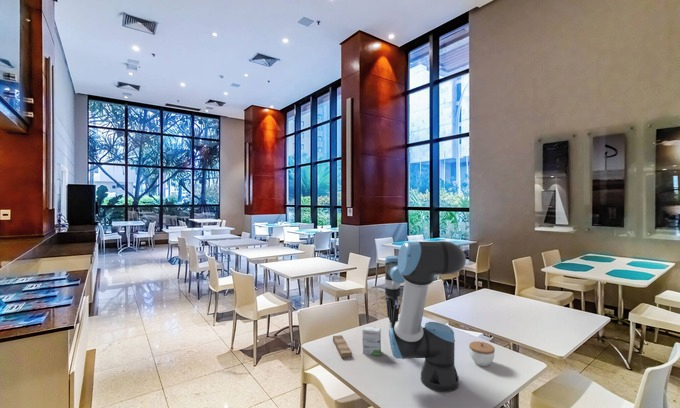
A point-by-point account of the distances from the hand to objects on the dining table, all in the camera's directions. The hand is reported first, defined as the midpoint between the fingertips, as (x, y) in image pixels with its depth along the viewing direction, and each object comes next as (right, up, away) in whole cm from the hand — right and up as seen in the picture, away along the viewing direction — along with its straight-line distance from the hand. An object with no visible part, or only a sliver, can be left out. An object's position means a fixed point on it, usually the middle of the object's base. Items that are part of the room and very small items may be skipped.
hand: (392, 333), depth 161 cm
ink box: (-11, -8, -3) cm, 14 cm away
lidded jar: (+39, -8, -13) cm, 42 cm away
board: (-26, -8, +1) cm, 27 cm away
